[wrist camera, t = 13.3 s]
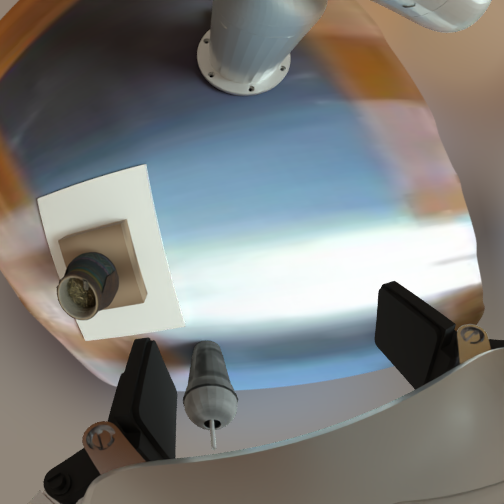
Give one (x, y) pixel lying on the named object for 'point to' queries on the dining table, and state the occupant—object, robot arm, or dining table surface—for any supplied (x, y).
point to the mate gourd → (88, 285)
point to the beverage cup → (209, 390)
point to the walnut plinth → (117, 250)
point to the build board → (143, 237)
